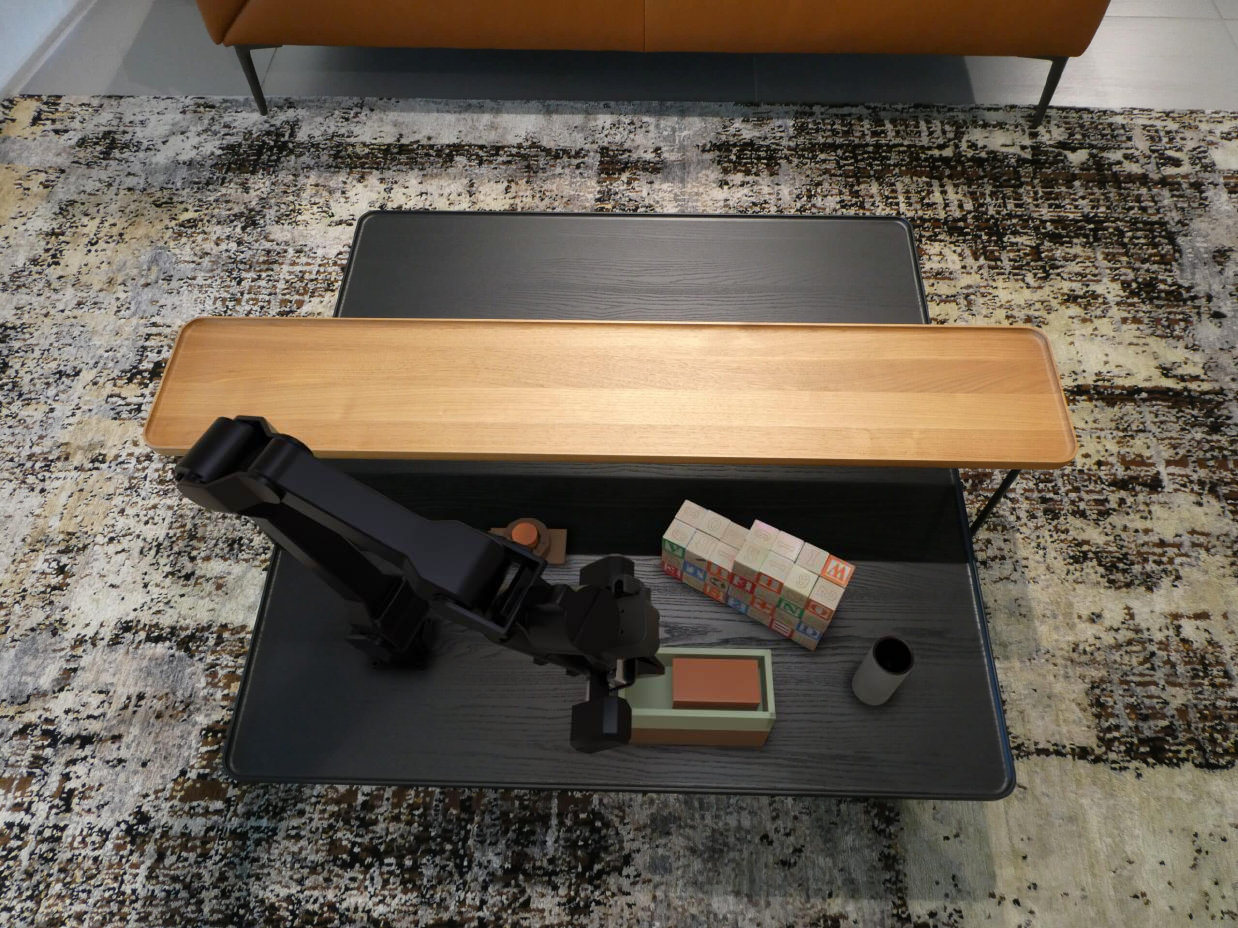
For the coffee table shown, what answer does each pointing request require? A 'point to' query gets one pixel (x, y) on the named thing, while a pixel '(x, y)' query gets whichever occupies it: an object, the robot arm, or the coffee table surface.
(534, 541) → the button
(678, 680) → the orange rectangular box
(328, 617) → the coffee table surface
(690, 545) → the stack of blocks
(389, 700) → the coffee table surface
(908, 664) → the planter
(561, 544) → the button block
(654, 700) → the bin
